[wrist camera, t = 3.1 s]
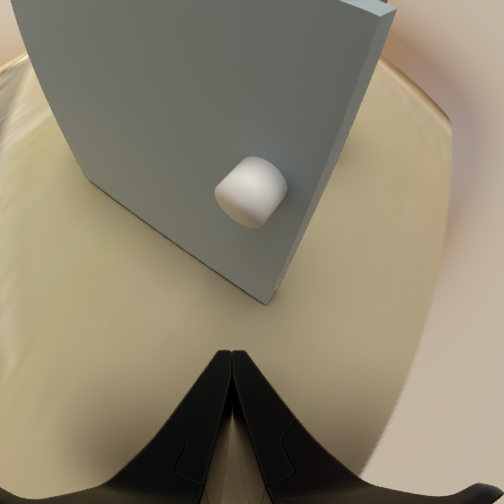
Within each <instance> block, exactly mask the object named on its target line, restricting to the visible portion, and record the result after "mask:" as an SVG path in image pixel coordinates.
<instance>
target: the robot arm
mask: <svg viewBox="0 0 504 504" xmlns="http://www.w3.org/2000/svg"><path fill="white" fill-rule="evenodd" d="M232 415H233V423H234V429H235V435H236V441H237V446H238V452H239V458H240V463H241V468H242V474H243V479H244V484H245V489H246V494H247V499H248V504H493V503H494V502H495V501H497V500H498V499H499V498H500V497H501V496H502V495H503V494H504V492H503V491H502V490H500V489H499V488H497V487H495V486H492V485H488V484H482V483H476V484H474V485H471V486H470V487H468V488H466V489H464V490H462V491H460V492H458V493H456V494H453V495H449V496H439V497H437V496H426V495H419V494H413V493H407V492H402V491H397V490H392V489H388V488H383V487H379V486H375V485H372V484H370V483H368V482H366V481H364V480H362V479H361V478H359V477H358V476H356V475H355V474H354V473H353V472H352V471H350V470H349V469H348V468H347V467H346V466H344V465H343V464H342V463H341V462H340V461H339V460H337V459H336V458H335V457H334V456H333V455H332V454H330V453H329V452H328V451H327V450H326V449H325V448H324V447H323V446H322V445H321V444H320V443H319V442H318V441H316V440H315V439H314V437H313V436H312V435H311V434H310V433H309V432H308V431H307V430H306V428H305V427H304V426H303V425H302V424H301V422H300V421H299V420H298V419H296V416H295V415H294V414H293V413H292V411H291V410H290V409H289V408H288V406H287V405H286V404H285V402H284V401H283V400H282V399H281V397H280V396H279V395H278V393H277V392H276V391H275V390H274V388H273V387H272V386H271V384H270V383H269V382H268V380H267V379H266V378H265V376H264V375H263V374H262V372H261V371H260V370H259V368H258V367H257V366H256V364H255V363H254V362H253V360H252V359H251V358H250V356H249V355H248V354H247V352H246V351H244V350H233V351H232V352H231V351H230V350H219V351H217V352H216V354H215V355H214V357H213V358H212V359H211V361H210V362H209V364H208V365H207V366H206V368H205V369H204V371H203V372H202V373H201V375H200V376H199V378H198V379H197V380H196V382H195V383H194V384H193V386H192V387H191V389H190V390H189V391H188V393H187V394H186V395H185V397H184V398H183V399H182V401H181V402H180V404H179V405H178V406H177V408H176V409H175V410H174V412H173V413H172V414H171V416H170V417H169V418H170V419H167V421H166V422H165V424H164V425H163V426H162V427H161V429H160V430H159V431H158V432H157V434H156V435H155V436H154V437H153V438H152V440H151V441H150V442H149V443H148V444H147V445H146V446H145V447H144V448H143V449H142V450H141V451H140V452H139V453H138V454H137V455H136V456H135V457H134V458H132V459H131V460H130V461H129V462H128V463H127V464H126V465H125V466H124V467H123V468H122V469H121V470H120V471H119V472H118V473H116V474H115V475H114V476H113V477H112V478H111V479H109V480H108V481H106V482H105V483H103V484H101V485H99V486H96V487H93V488H90V489H86V490H82V491H78V492H74V493H69V494H65V495H60V496H55V497H49V498H44V499H26V498H21V497H18V496H16V495H13V494H12V493H10V492H8V491H6V490H4V489H2V488H0V504H221V499H222V491H223V483H224V476H225V468H226V460H227V453H228V445H229V437H230V429H231V421H232Z"/></svg>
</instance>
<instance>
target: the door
mask: <svg viewBox="0 0 504 504" xmlns="http://www.w3.org/2000/svg"><path fill="white" fill-rule="evenodd" d="M11 3H12V7H13V11H14V14H15V17H16V20H17V24H18V27H19V30H20V33H21V35H22V39H23V41H24V44H25V47H26V50H27V52H28V55H29V58H30V60H31V63H32V66H33V68H34V71H35V73H36V76H37V78H38V80H39V83H40V85H41V87H42V90H43V92H44V94H45V97H46V99H47V101H48V103H49V106H50V108H51V110H52V112H53V114H54V116H55V118H56V120H57V123H58V125H59V127H60V129H61V131H62V133H63V135H64V137H65V139H66V141H67V143H68V145H69V147H70V148H71V150H72V152H73V154H74V156H75V158H76V160H77V162H78V164H79V165H80V167H81V169H82V171H83V173H84V174H85V176H86V178H87V179H89V180H90V181H91V182H93V183H94V184H95V185H97V186H98V187H99V188H101V189H102V190H103V191H105V192H106V193H107V194H109V195H110V196H111V197H113V198H114V199H115V200H117V201H118V202H119V203H121V204H122V205H123V206H125V207H126V208H127V209H129V210H130V211H132V212H133V213H134V214H136V215H137V216H138V217H140V218H141V219H142V220H144V221H145V222H147V223H148V224H149V225H151V226H152V227H154V228H155V229H156V230H158V231H159V232H161V233H162V234H163V235H165V236H166V237H168V238H169V239H170V240H172V241H173V242H175V243H176V244H177V245H179V246H180V247H182V248H183V249H184V250H186V251H187V252H189V253H190V254H192V255H193V256H195V257H196V258H197V259H199V260H200V261H202V262H203V263H205V264H206V265H207V266H209V267H210V268H212V269H213V270H215V271H216V272H218V273H219V274H221V275H222V276H224V277H225V278H226V279H228V280H229V281H231V282H232V283H234V284H235V285H237V286H238V287H240V288H241V289H243V290H244V291H246V292H247V293H249V294H250V295H252V296H253V297H255V298H256V299H258V300H259V301H261V302H262V303H264V304H265V305H266V304H267V303H268V301H269V300H270V298H271V297H272V295H273V294H274V293H275V291H276V290H277V288H278V287H279V285H280V283H281V281H282V279H283V277H284V275H285V273H286V271H287V269H288V267H289V265H290V262H291V260H292V258H293V256H294V254H295V252H296V250H297V248H298V246H299V244H300V241H301V239H302V237H303V235H304V233H305V231H306V229H307V226H308V224H309V222H310V220H311V218H312V216H313V213H314V211H315V209H316V207H317V205H318V202H319V200H320V198H321V196H322V193H323V191H324V189H325V187H326V185H327V182H328V180H329V178H330V175H331V173H332V171H333V169H334V166H335V164H336V162H337V159H338V157H339V155H340V153H341V150H342V148H343V146H344V143H345V141H346V138H347V136H348V134H349V131H350V129H351V127H352V124H353V122H354V119H355V117H356V115H357V112H358V110H359V107H360V105H361V102H362V100H363V97H364V95H365V92H366V90H367V87H368V85H369V82H370V80H371V77H372V75H373V72H374V70H375V67H376V64H377V62H378V59H379V57H380V54H381V51H382V49H383V46H384V43H385V41H386V38H387V35H388V32H389V30H390V27H391V24H392V21H393V19H394V16H395V13H396V10H397V8H395V7H393V6H391V5H388V4H386V3H384V2H381V1H379V0H11Z"/></svg>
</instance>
